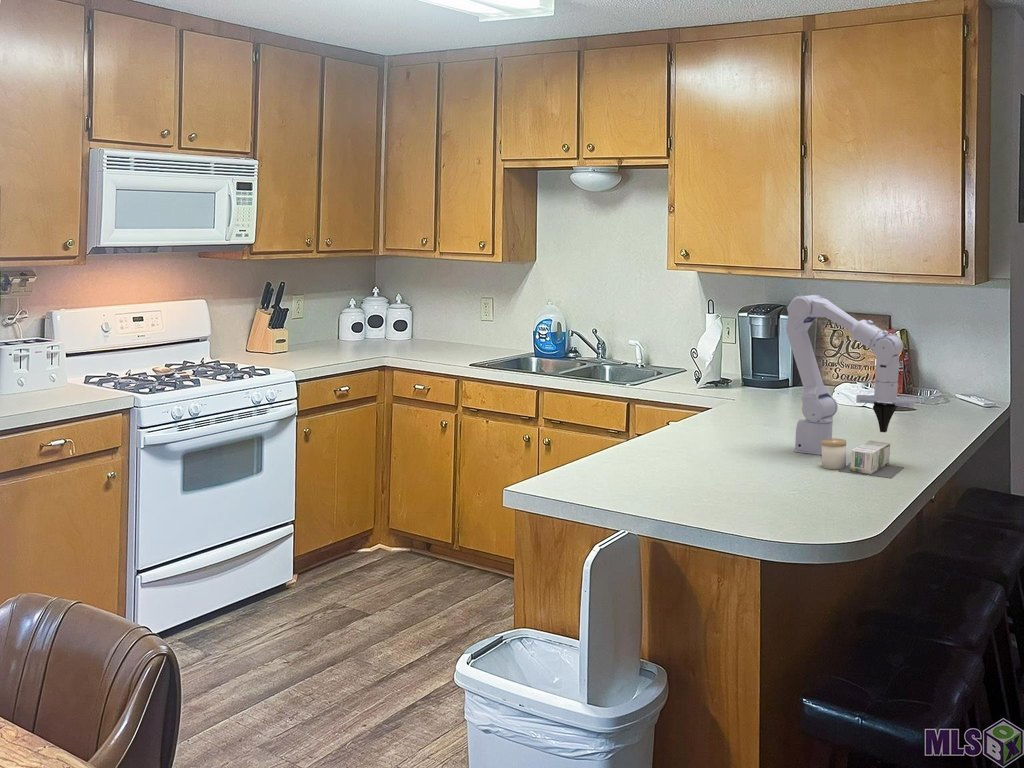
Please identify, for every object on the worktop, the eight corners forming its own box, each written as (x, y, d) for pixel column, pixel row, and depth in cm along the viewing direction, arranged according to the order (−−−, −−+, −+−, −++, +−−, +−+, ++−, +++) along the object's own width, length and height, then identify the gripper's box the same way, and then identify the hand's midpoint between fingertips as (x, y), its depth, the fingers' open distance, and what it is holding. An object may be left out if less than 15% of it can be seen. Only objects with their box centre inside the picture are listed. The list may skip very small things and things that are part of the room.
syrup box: (869, 439, 264) (849, 449, 253) (891, 443, 260) (872, 452, 249) (867, 460, 265) (848, 471, 254) (890, 464, 261) (871, 474, 250)
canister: (818, 468, 258) (818, 441, 257) (825, 463, 263) (825, 437, 262) (842, 470, 254) (842, 443, 254) (849, 465, 260) (849, 439, 259)
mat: (838, 472, 254) (838, 470, 254) (853, 461, 265) (853, 460, 265) (891, 479, 247) (891, 477, 246) (904, 468, 258) (904, 467, 258)
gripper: (918, 381, 260) (915, 432, 263) (862, 377, 268) (859, 426, 270) (912, 384, 255) (909, 436, 257) (855, 380, 263) (852, 430, 265)
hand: (883, 431), depth 263 cm, fingers closed
